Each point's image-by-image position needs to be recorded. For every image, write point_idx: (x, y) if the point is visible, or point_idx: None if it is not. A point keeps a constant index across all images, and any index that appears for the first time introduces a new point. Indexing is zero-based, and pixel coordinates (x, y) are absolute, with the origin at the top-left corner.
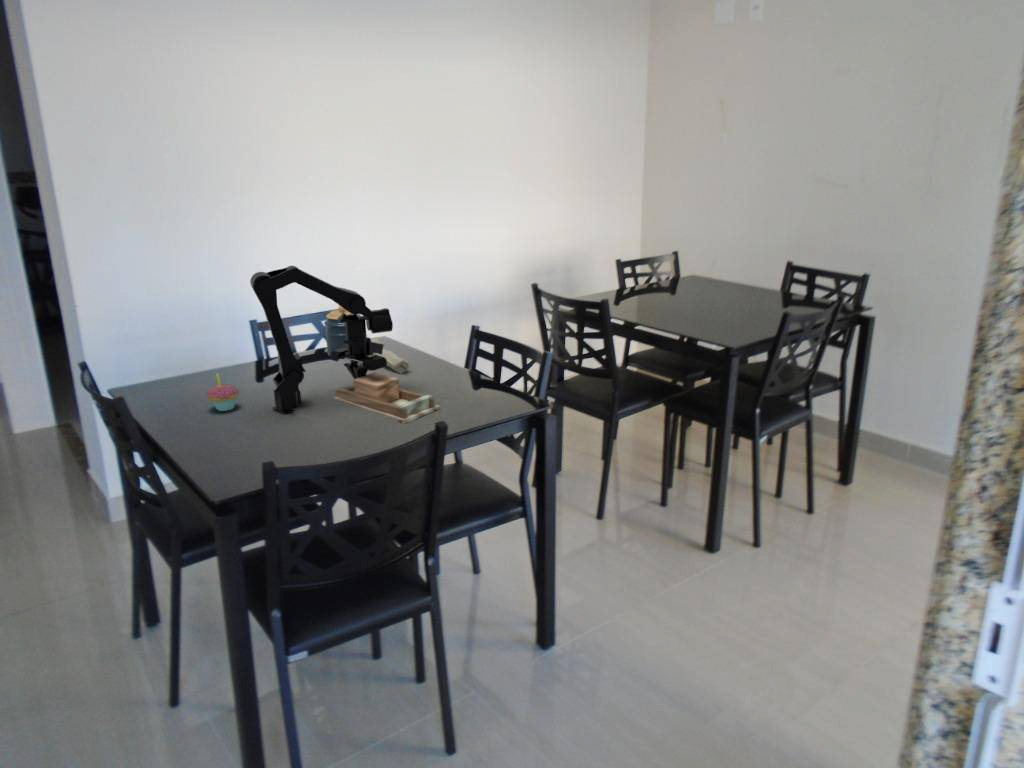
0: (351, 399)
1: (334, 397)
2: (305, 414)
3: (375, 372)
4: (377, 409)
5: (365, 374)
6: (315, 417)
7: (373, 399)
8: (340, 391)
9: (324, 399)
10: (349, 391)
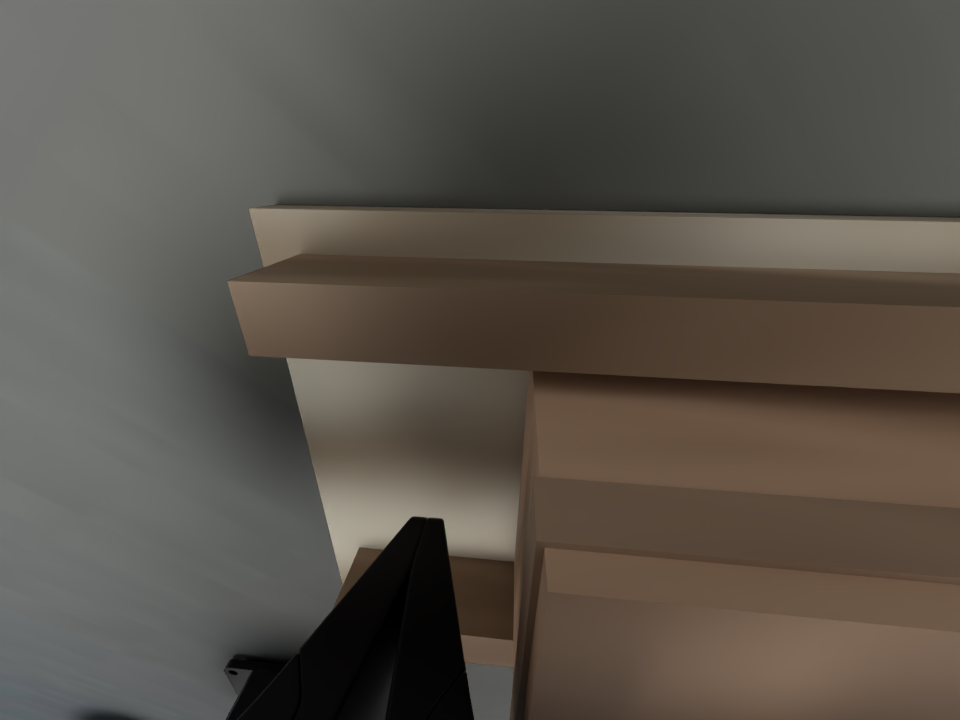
0: None
1: (343, 579)
2: None
3: (570, 595)
4: None
5: (473, 717)
6: (500, 709)
7: None
8: None
9: (282, 565)
10: (466, 642)
